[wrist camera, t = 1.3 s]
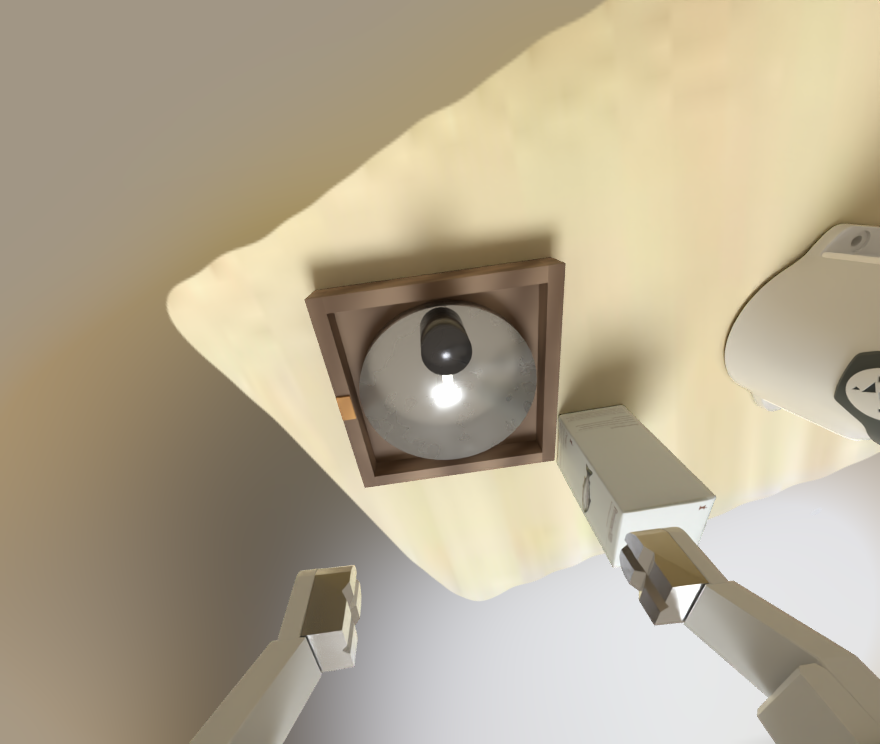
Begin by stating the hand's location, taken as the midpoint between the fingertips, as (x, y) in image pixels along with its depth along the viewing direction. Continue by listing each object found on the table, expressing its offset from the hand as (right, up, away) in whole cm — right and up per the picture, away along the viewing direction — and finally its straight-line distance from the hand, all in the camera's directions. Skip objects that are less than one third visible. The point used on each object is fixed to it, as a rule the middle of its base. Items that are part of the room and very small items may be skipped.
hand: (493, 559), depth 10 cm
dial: (-1, +5, +21) cm, 22 cm away
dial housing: (-1, +5, +22) cm, 23 cm away
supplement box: (+15, -2, +27) cm, 31 cm away
